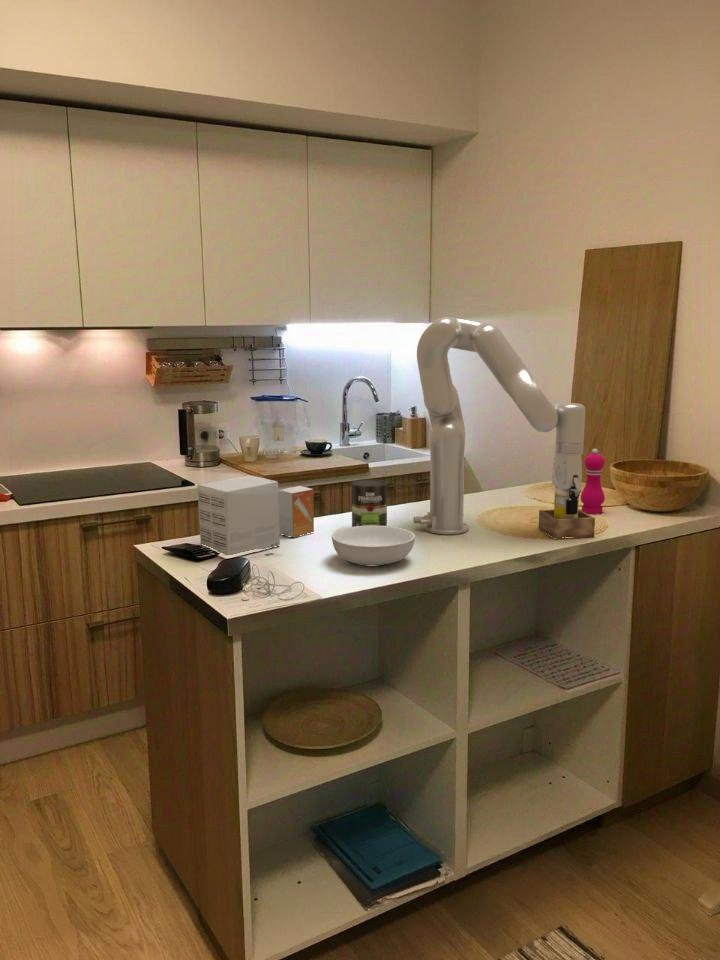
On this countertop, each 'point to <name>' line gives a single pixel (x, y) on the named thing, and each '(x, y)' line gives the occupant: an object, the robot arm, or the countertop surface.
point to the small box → (296, 511)
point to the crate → (567, 525)
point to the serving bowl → (373, 544)
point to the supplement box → (239, 514)
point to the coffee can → (369, 502)
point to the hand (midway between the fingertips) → (566, 510)
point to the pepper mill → (593, 484)
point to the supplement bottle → (562, 505)
